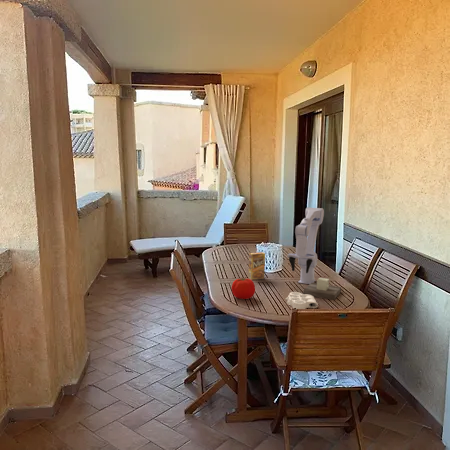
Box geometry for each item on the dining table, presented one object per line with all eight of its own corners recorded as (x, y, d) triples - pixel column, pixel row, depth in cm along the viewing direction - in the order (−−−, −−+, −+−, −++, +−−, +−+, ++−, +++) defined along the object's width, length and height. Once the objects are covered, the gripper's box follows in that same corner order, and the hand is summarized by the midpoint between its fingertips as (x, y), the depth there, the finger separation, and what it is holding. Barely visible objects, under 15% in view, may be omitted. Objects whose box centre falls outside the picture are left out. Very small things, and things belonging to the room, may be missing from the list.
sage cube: (318, 286, 218) (319, 277, 218) (328, 288, 216) (328, 279, 215) (316, 289, 214) (317, 279, 213) (326, 290, 212) (326, 281, 211)
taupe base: (311, 286, 226) (311, 282, 226) (340, 291, 219) (341, 287, 219) (303, 294, 212) (303, 290, 212) (334, 299, 205) (334, 295, 205)
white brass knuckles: (319, 311, 189) (287, 310, 190) (312, 298, 207) (283, 297, 208) (319, 304, 189) (287, 303, 189) (312, 292, 207) (283, 291, 207)
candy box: (251, 280, 237) (252, 254, 235) (248, 278, 241) (248, 252, 239) (264, 278, 241) (265, 253, 239) (261, 276, 245) (261, 251, 242)
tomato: (253, 294, 210) (254, 275, 209) (256, 301, 199) (256, 281, 198) (230, 294, 210) (230, 274, 208) (231, 301, 199) (232, 281, 197)
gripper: (286, 247, 219) (285, 271, 221) (313, 250, 213) (311, 275, 215) (290, 244, 225) (288, 268, 227) (316, 247, 219) (314, 272, 221)
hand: (300, 271), depth 221 cm, fingers open, 7 cm apart
